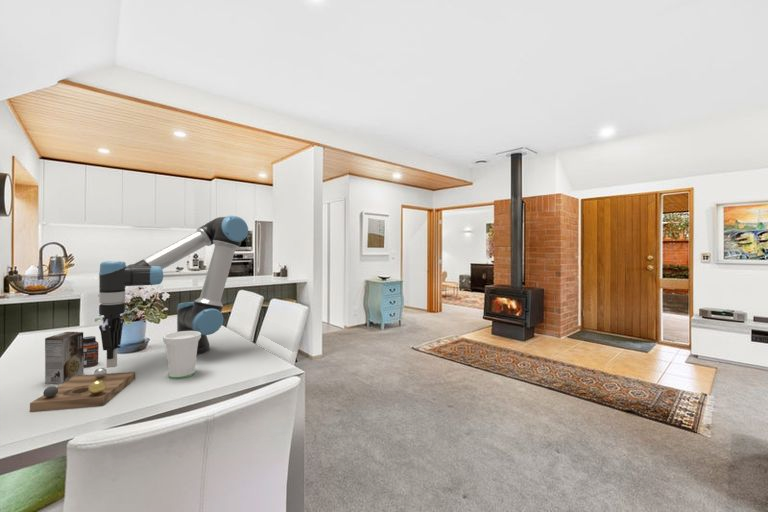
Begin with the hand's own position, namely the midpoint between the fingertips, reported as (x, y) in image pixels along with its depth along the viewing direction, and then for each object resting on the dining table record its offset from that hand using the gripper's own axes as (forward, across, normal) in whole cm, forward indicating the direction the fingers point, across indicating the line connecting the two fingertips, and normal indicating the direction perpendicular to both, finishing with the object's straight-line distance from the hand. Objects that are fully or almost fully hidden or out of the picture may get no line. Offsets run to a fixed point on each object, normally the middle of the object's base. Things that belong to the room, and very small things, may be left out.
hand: (111, 366), depth 126 cm
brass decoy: (-1, +23, +6) cm, 24 cm away
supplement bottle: (+4, -16, -15) cm, 22 cm away
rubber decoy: (0, +22, -6) cm, 23 cm away
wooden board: (+4, +15, 0) cm, 15 cm away
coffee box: (+4, -1, -15) cm, 16 cm away
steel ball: (0, +8, 0) cm, 8 cm away
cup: (+4, +3, +24) cm, 25 cm away
